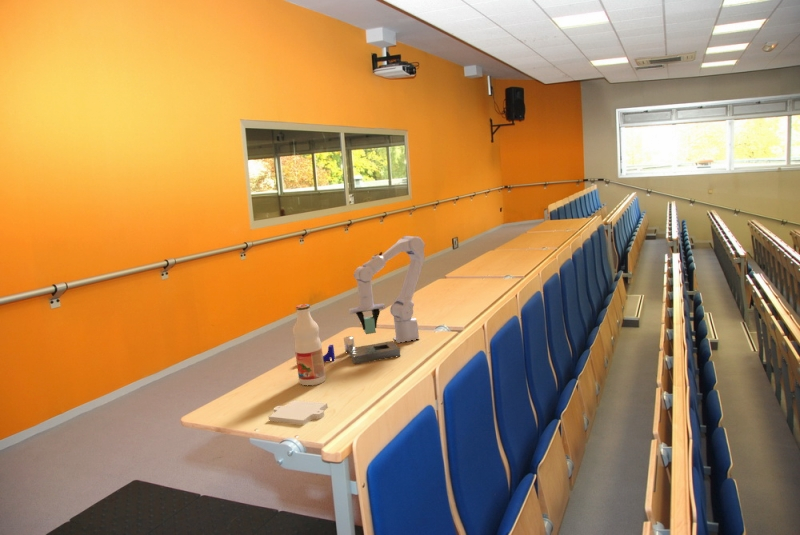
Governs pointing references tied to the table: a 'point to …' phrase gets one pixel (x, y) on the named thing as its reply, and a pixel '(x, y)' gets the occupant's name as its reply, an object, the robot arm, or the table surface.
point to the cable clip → (329, 354)
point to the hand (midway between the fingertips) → (369, 328)
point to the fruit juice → (308, 348)
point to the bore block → (374, 352)
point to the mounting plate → (298, 412)
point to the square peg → (369, 325)
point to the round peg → (349, 343)
